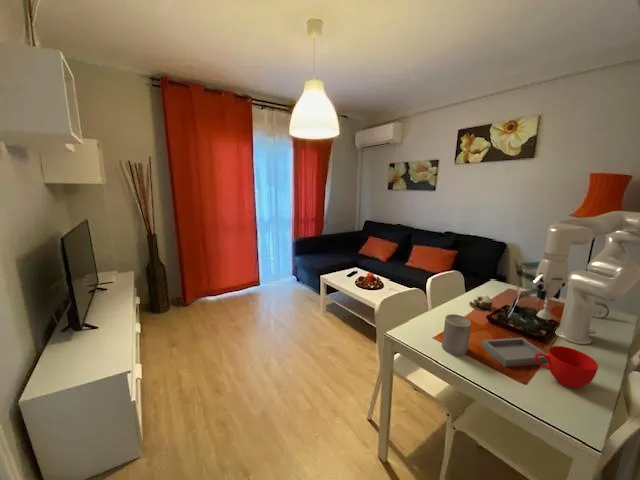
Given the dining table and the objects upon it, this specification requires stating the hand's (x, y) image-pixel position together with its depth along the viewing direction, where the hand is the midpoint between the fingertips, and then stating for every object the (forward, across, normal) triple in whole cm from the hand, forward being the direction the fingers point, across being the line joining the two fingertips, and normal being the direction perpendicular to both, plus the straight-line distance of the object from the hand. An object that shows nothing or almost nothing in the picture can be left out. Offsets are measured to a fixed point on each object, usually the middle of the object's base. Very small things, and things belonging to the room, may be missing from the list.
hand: (547, 297), depth 114 cm
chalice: (+9, 0, 0) cm, 9 cm away
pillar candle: (+22, +39, -1) cm, 45 cm away
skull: (+23, 0, -36) cm, 42 cm away
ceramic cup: (+22, +12, +20) cm, 32 cm away
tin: (+24, -50, -21) cm, 59 cm away
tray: (+22, +17, +5) cm, 28 cm away
